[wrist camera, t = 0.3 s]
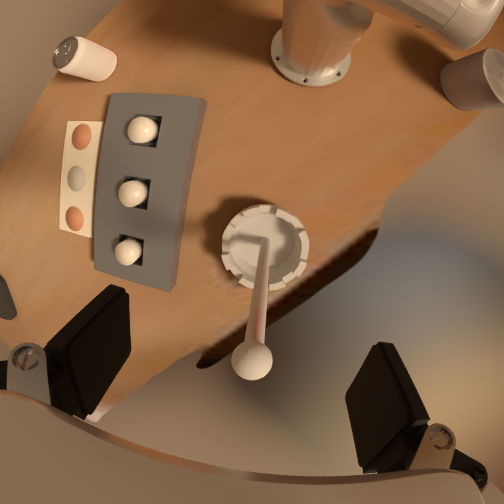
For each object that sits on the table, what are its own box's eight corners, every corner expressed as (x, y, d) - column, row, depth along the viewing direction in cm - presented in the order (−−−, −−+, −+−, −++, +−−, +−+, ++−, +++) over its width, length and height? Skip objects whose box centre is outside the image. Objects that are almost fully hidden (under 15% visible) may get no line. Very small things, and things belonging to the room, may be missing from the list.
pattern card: (70, 121, 40) (67, 120, 39) (105, 122, 40) (101, 121, 39) (62, 227, 48) (59, 229, 47) (93, 236, 48) (90, 238, 47)
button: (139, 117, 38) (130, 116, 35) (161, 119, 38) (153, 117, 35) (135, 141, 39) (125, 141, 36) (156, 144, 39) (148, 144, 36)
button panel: (121, 95, 39) (111, 92, 35) (207, 102, 39) (201, 98, 35) (103, 262, 50) (94, 269, 46) (175, 283, 50) (169, 292, 46)
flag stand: (300, 279, 48) (322, 428, 19) (225, 272, 48) (170, 413, 20) (310, 204, 43) (370, 298, 15) (228, 197, 44) (147, 278, 16)
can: (87, 83, 38) (46, 74, 26) (94, 53, 35) (56, 38, 24) (114, 80, 38) (74, 67, 26) (121, 49, 35) (84, 30, 24)
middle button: (129, 177, 41) (119, 179, 38) (150, 181, 41) (141, 183, 38) (127, 201, 43) (117, 204, 40) (147, 205, 43) (138, 209, 40)
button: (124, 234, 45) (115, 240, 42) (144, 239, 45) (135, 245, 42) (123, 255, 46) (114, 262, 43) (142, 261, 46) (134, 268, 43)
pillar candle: (466, 63, 30) (512, 48, 16) (482, 110, 33) (532, 106, 19) (431, 64, 32) (478, 42, 18) (449, 114, 35) (501, 108, 21)
